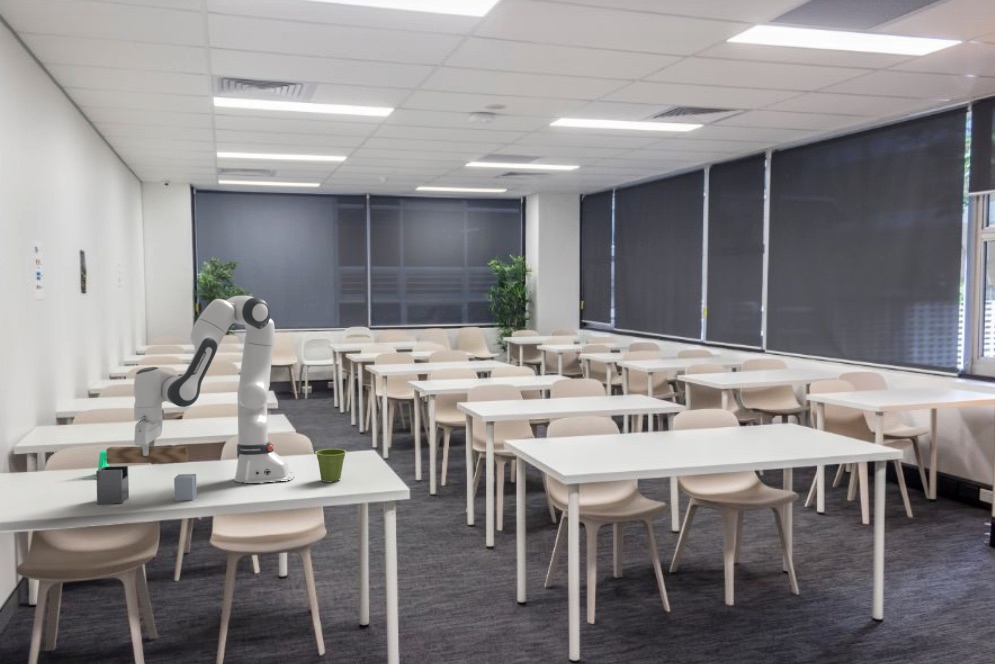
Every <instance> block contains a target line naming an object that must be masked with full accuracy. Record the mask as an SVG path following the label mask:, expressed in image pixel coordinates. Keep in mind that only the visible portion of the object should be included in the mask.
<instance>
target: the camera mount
mask: <svg viewBox="0 0 995 664" xmlns="http://www.w3.org/2000/svg"><path fill="white" fill-rule="evenodd" d="M98 457H99V458H98V465H97V470H99V469H101V468H102V467H104V466H110V464H107V451H106V450H100V451H99V456H98Z"/></svg>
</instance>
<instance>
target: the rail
mask: <svg viewBox="0 0 995 664" xmlns="http://www.w3.org/2000/svg"><path fill="white" fill-rule="evenodd" d="M149 450H150V452H149V453H150V454H149V455H148V456H144V455H143V450H142V446H110V447H108V448H106V451H107V464H109V465H113V464H117V465H119V464H151V463H152V464H153V463H155V464H157V463H159V464H161V463H163V464H165V463H188V461H189V460H190V458H189V457H190V455H189V454H190V453H189V451H190V449H189V445H162V446H161V445H160V446H159V445H154V446H149Z"/></svg>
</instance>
